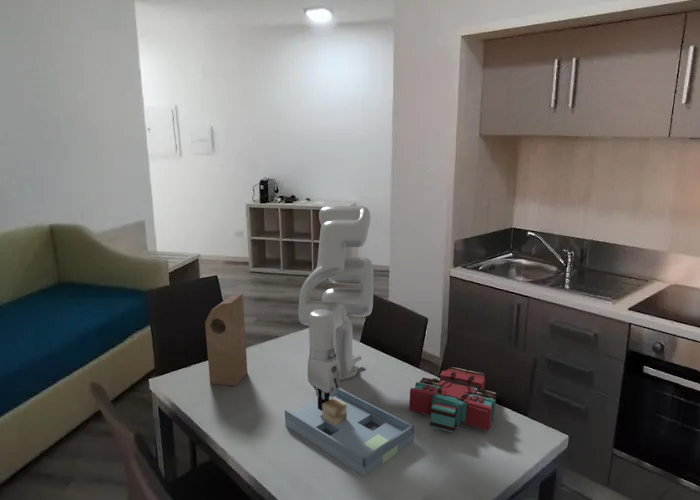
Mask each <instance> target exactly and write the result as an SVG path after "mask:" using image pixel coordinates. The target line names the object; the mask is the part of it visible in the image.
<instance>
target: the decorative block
mask: <svg viewBox="0 0 700 500" xmlns="http://www.w3.org/2000/svg"><path fill="white" fill-rule="evenodd" d="M244 312H245V310H244V296H243V293H238V294H237V293H236V294H233V295H231V296H229V297H227V298H226V299H224V300H223V301H222V302H220V303H219V304H217V305H216V306H215V307H213V308H211V310H210V311H209V314H208V315H207V318H206V320H205V321H204V324H205V325H204V327H205V338H206V349H207V351H206V352H207V362H208V373H209V374H208V376H209V377H208V378H209V384H213V385H224V386H233V387H237V386H238V384H239V383H240V382H241V381H242V380H243V379H244V377H245V376H246V375H248V359H247V345H246V343H247V342H246V329H245V328H246V327H245V326H246V325H245V313H244Z"/></svg>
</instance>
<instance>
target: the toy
mask: <svg viewBox="0 0 700 500" xmlns="http://www.w3.org/2000/svg"><path fill="white" fill-rule="evenodd" d="M485 383H486V374H485V373H483V372H478V371H472V370H467V369H463V368H459V367H453V366H450V367H449V368H448V369H445V370H441V373H440V374H439V378H434V377H433V378H431V377H427V376H424V377H422V378H421V380H420V381H419V382H418V381H416V382H415V384H414V385H415V387H410V390H409V405H408V406H409V407H408V409H409V411H410V412H415V413H419V414H423V415H429V416H430V421H429V426H430V427H431V428H433V429H436V430H439V431H445V432H447V433H451V434H453V433H454V432H455V430H456V429H457V426H461V423H462V422H464V423H465V425H468V426H472V427H475V428H479V429H482V430H484V431H487V432H488V431H490V430H491V426H492V425H491V424H492V422H494V420H495V412H496V404H497V403H496V401H497V393H496V392H494V391H490V390H486V389H485V385H486V384H485Z"/></svg>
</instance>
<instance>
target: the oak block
mask: <svg viewBox="0 0 700 500" xmlns="http://www.w3.org/2000/svg"><path fill="white" fill-rule="evenodd" d="M322 418H323V420H325V421H326V422H328V423H330V424H331V425H333V426H335V425H337V424H339V423H341V422H343V421H344V420H346V419H347V404H346V403H344V402H342V401H340V400H339V399H337V398H333V399H331V400H329V401H327V402H325V403H323V404H322Z"/></svg>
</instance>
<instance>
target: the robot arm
mask: <svg viewBox="0 0 700 500" xmlns="http://www.w3.org/2000/svg"><path fill="white" fill-rule="evenodd" d="M318 220H319V223H320V232H319V239H318V240H319V241H318V253H317V265H316V267H315V268H314V270H313V271H312V272H311V273H310V274H309V275H308V276H307V278H306V279H305V281H304V282H303V284H302V286H301V289H300V292H299V302H298V308H297V309H298V310H297V311H298V312H297V316H298V321H299V322H300V323H301V324H302V325H304V326H308V332H309V333H308V334H309V335H308V338H309V341H308V343H309V355H308V360H307V380H308V383H309V384H310V385H311V387H313V389H314V390H315V396H316V397H317V401H318V409H319V410H321V411H322V404H323V403H325V402H327V401H329V397H330V396H331V397H335V396H337V391H336V388H338V389H339V388H340V389H341V386H342V385H341V381H344V380H345V381H346V380H350V379H353V378H354V377H355V376H356V375H357V374H358V368H357V366H356V363H357V362H360V361H362V356H361V355H360V354H359V355H357V356H354V355H353V353H354V352H353V351H354V350H353V324H352V322H351V321H350V318H349V317H351V316H352V317H368V316H370V315H371V313H372V311H373V306H374V265H373V261H372V260H371V259H370V258H368V257H364V256H353V248H361V247H363V246H364V245H365V243H366V240H367V238H368V233H369V229H370V225H371V224H370V223H371V213H370V210H369V208H368V207H367V206H363V205H361V206H360V205H327V206H324V207H321V208H320V209H319V212H318ZM327 279H328V281H329V282H331V284H332V283H333V284H337V285H338V284H339V285H340V284H341V285H358V286H359V288H354V287H353V288H352V287H331V288H328V289H326V290H325V291H324V292H323V294H322V297H321V298H322V300H310V299H311V295H312V291H313V290H314V289H315V287H316V286H317V285H319V284H320V283H321V282H323V281H326V280H327Z"/></svg>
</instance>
